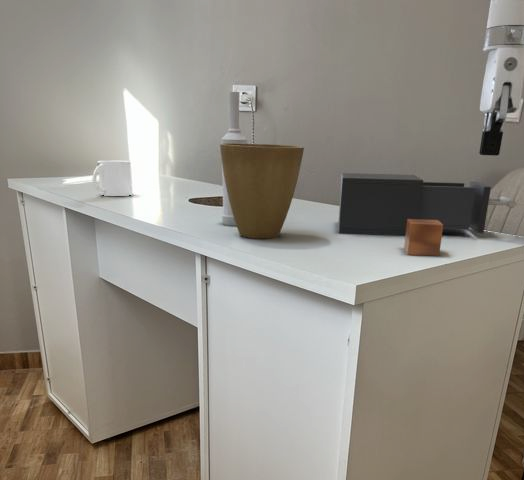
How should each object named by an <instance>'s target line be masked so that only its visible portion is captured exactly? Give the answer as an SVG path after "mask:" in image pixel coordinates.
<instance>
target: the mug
mask: <svg viewBox="0 0 524 480" xmlns="http://www.w3.org/2000/svg"><path fill="white" fill-rule="evenodd" d="M97 177H98V181H99V185H98V184H97ZM132 177H133V176H132V165H131V161H130V160H119V159H117V160H116V159H115V160H114V159H113V160H111V159H110V160H97V165H96V167H95V168H94V170H93V173H92V179H91V180H92V186H93V188H95V190H96V191H97V192H98V193H100V196H102V195H104V196H103V197H106V196H125V197H130V196H129V195H131V196H133V194H134V193H133V191H134V190H133V179H132ZM102 192H103V193H102Z"/></svg>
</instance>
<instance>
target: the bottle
mask: <svg viewBox="0 0 524 480" xmlns="http://www.w3.org/2000/svg"><path fill="white" fill-rule="evenodd" d="M220 143H237V144H248V138H246V137H245V136H244V134H243V133H242V130H241V129H240V91H228V129H227V133H226V134H225V135H223V137H221V140H220ZM221 179H222V180H221V181H222V183H221V185H222V214H221V221H222V224H223V226H229V227H230V226H231V227H237V225H236V222H235V219H234V216H233V213H232V209H231V205H230V202H229V198H228V193H227V188H226V184H225V178H224V173H223V166H222V165H221Z"/></svg>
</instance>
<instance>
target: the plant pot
mask: <svg viewBox="0 0 524 480" xmlns="http://www.w3.org/2000/svg"><path fill="white" fill-rule="evenodd" d="M219 149H220V150H219V151H220V157H221V167H222V166H223V173H224V178H225V184H226V188H227V193H228V198H229V202H230V205H231V209H232V213H233V216H234V219H235V222H236V225H237V226H236V229H237V231H238V234H239V235H240V236H242V237H245V238H250V239H274V238H277V237H279V236H280V233H281V231H282V229H283V226H284V224H285V221H286V218H287V216H288V213H289V210H290V208H291V204H292V200H293V198H294V195H295V191H296V187H297V184H298V180H299V176H300V171H301V166H302V161H303V156H304V152H305V151H304V150H305V146H301V145H291V144H290V145H289V144H271V143H270V144H267V143H247V144H237V143H221V142H220V143H219Z"/></svg>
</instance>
